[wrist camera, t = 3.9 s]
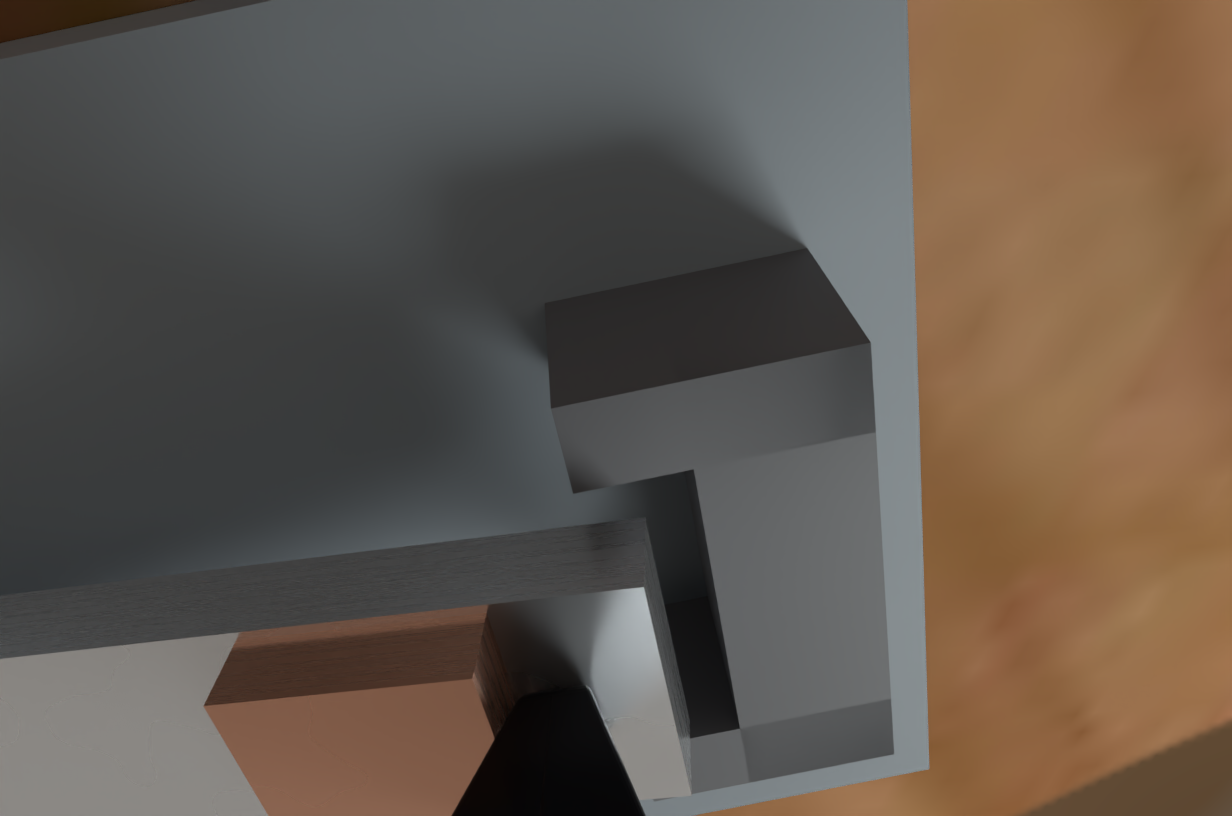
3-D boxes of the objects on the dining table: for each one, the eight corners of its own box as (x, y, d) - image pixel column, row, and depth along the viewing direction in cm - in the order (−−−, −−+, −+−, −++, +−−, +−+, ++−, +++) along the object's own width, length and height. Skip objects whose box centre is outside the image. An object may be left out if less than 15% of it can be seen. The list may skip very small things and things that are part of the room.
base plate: (-207, 916, 18) (-386, 1190, 14) (-940, 247, 11) (-1635, 455, 7) (898, 697, 17) (996, 924, 14) (855, -144, 10) (1028, -121, 7)
